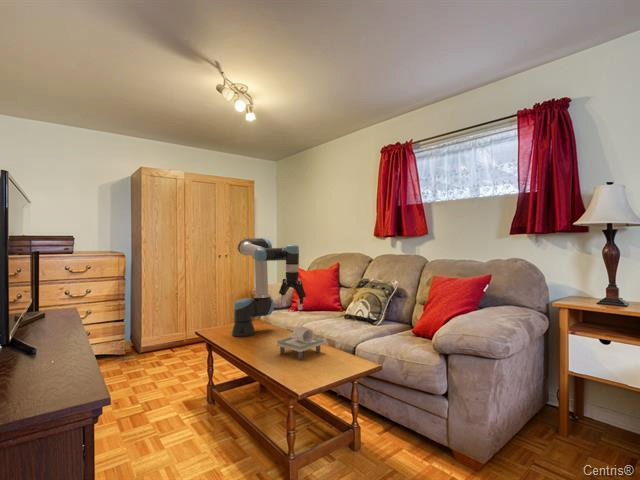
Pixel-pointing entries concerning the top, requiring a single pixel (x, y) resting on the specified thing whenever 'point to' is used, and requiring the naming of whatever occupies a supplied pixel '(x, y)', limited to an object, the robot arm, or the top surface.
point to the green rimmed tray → (299, 345)
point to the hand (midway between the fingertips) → (292, 307)
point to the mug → (302, 334)
